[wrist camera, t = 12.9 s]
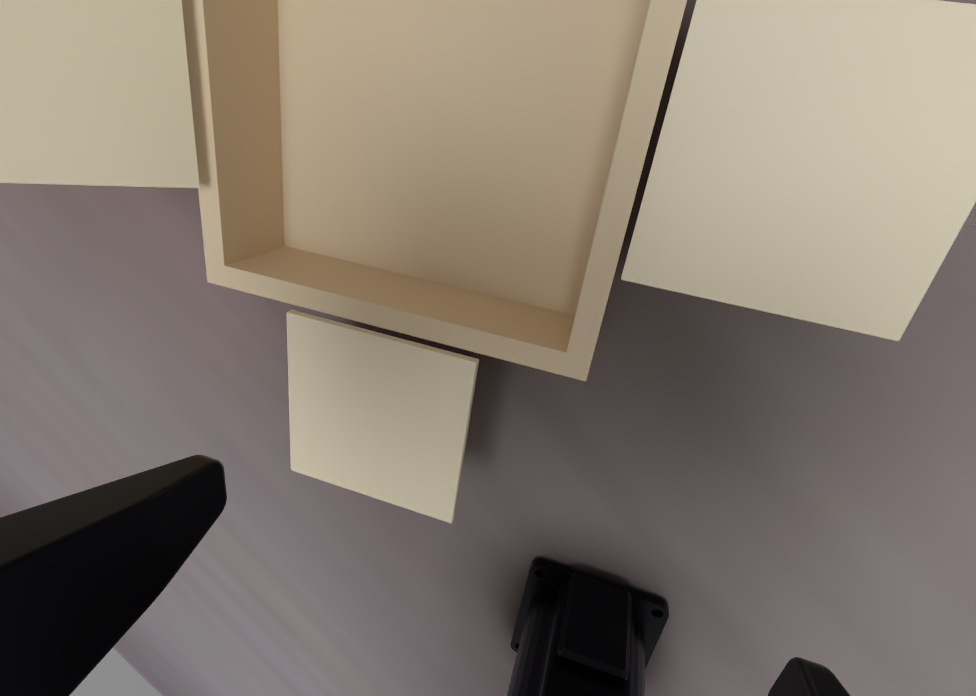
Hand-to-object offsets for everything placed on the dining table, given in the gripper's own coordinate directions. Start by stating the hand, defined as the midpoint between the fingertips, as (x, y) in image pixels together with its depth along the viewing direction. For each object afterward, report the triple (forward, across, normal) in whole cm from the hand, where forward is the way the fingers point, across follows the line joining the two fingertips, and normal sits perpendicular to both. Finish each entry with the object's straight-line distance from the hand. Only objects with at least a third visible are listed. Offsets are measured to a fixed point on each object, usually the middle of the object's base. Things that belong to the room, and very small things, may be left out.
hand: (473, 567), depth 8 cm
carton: (+13, +2, -2) cm, 13 cm away
